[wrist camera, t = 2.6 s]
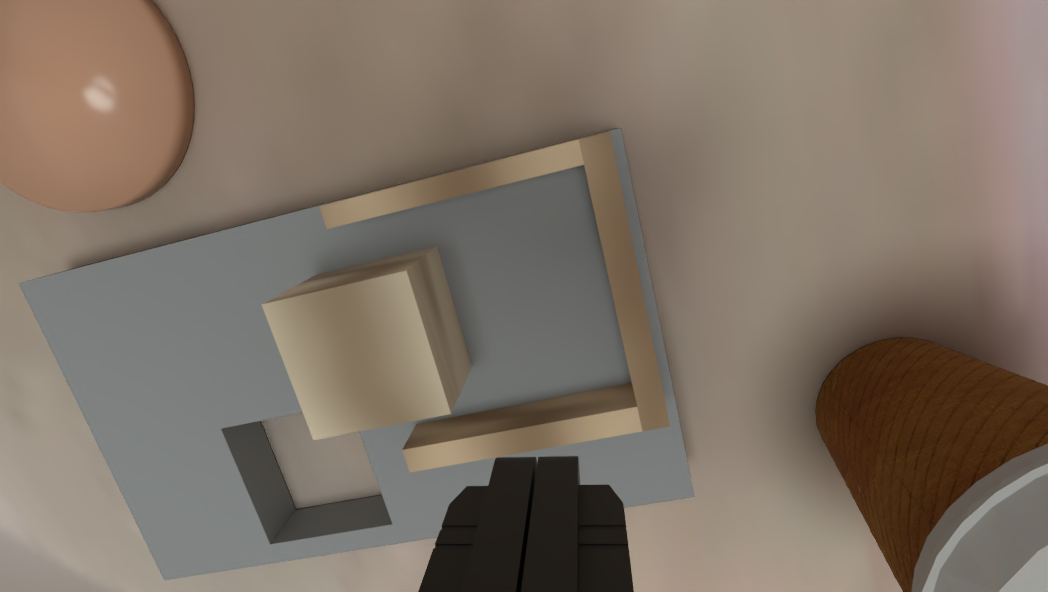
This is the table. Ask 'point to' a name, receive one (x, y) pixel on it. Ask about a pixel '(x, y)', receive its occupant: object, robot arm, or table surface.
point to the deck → (266, 390)
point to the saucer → (90, 102)
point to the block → (372, 344)
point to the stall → (644, 396)
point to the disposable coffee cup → (943, 464)
